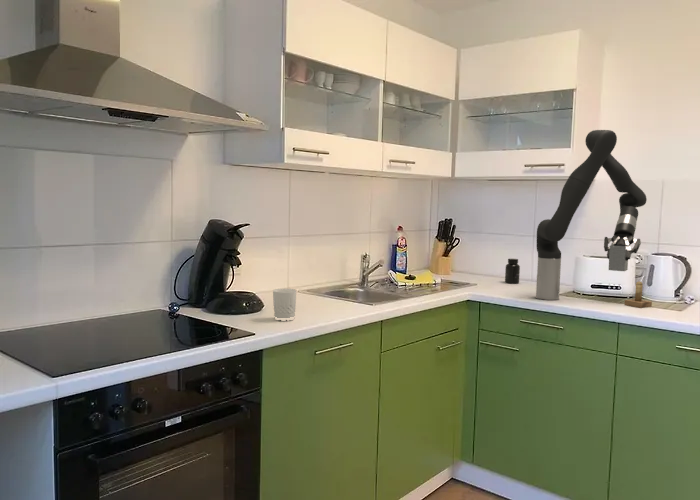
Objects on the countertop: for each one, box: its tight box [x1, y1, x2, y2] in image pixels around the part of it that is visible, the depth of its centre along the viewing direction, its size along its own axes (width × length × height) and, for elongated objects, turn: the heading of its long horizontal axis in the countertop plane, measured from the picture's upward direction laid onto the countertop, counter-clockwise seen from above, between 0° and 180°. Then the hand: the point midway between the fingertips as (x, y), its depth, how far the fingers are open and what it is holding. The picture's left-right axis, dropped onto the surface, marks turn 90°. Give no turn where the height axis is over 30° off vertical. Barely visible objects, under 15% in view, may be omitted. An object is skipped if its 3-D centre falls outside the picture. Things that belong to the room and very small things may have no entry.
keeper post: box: [624, 280, 653, 309], centre depth 234 cm, size 7×7×10 cm
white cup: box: [272, 288, 297, 318], centre depth 199 cm, size 8×8×10 cm
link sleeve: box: [608, 244, 629, 272], centre depth 239 cm, size 6×6×10 cm
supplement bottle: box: [504, 258, 521, 285], centre depth 290 cm, size 7×7×12 cm
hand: (617, 258), depth 237 cm, fingers closed on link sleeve, 6 cm apart
